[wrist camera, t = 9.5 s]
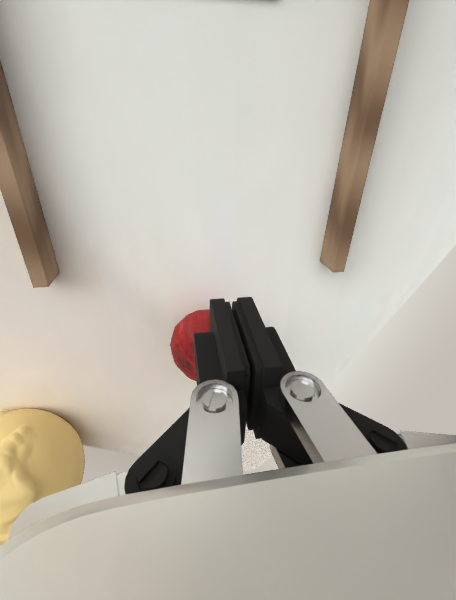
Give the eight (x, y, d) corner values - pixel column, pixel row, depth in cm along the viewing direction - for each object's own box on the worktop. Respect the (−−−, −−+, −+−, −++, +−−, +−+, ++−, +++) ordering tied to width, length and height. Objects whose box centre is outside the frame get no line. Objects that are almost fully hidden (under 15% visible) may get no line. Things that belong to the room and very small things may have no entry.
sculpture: (35, 372, 28) (-30, 492, 19) (113, 437, 34) (93, 552, 25) (-66, 422, 29) (-174, 560, 20) (28, 477, 35) (-21, 601, 26)
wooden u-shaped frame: (-114, -250, 12) (-175, -331, 10) (415, -145, 16) (453, -186, 14) (45, 272, 24) (33, 287, 21) (330, 260, 27) (343, 271, 25)
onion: (164, 340, 29) (163, 406, 22) (178, 287, 26) (182, 345, 19) (221, 348, 30) (237, 413, 24) (240, 300, 28) (263, 356, 21)
